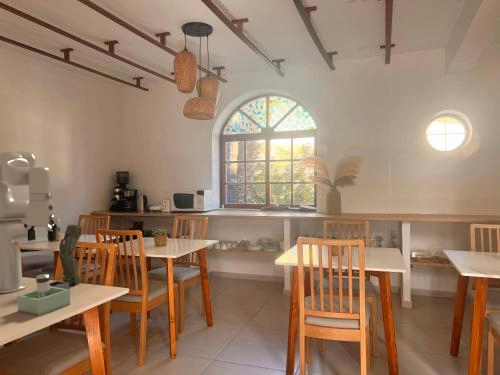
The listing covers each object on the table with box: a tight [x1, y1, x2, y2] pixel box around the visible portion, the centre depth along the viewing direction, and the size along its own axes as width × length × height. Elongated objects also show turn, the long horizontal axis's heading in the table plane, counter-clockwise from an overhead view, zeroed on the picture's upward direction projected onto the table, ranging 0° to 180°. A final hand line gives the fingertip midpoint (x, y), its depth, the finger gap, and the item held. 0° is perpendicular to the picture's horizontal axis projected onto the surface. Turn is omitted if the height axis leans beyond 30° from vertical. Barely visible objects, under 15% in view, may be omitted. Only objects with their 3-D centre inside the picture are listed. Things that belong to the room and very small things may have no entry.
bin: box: [16, 286, 71, 317], centre depth 140 cm, size 13×13×6 cm
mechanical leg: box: [58, 224, 84, 288], centre depth 172 cm, size 14×7×30 cm, turn 168°
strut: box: [35, 273, 51, 299], centre depth 140 cm, size 4×4×12 cm
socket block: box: [50, 280, 71, 291], centre depth 156 cm, size 8×8×5 cm
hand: (41, 240), depth 142 cm, fingers open, 9 cm apart
